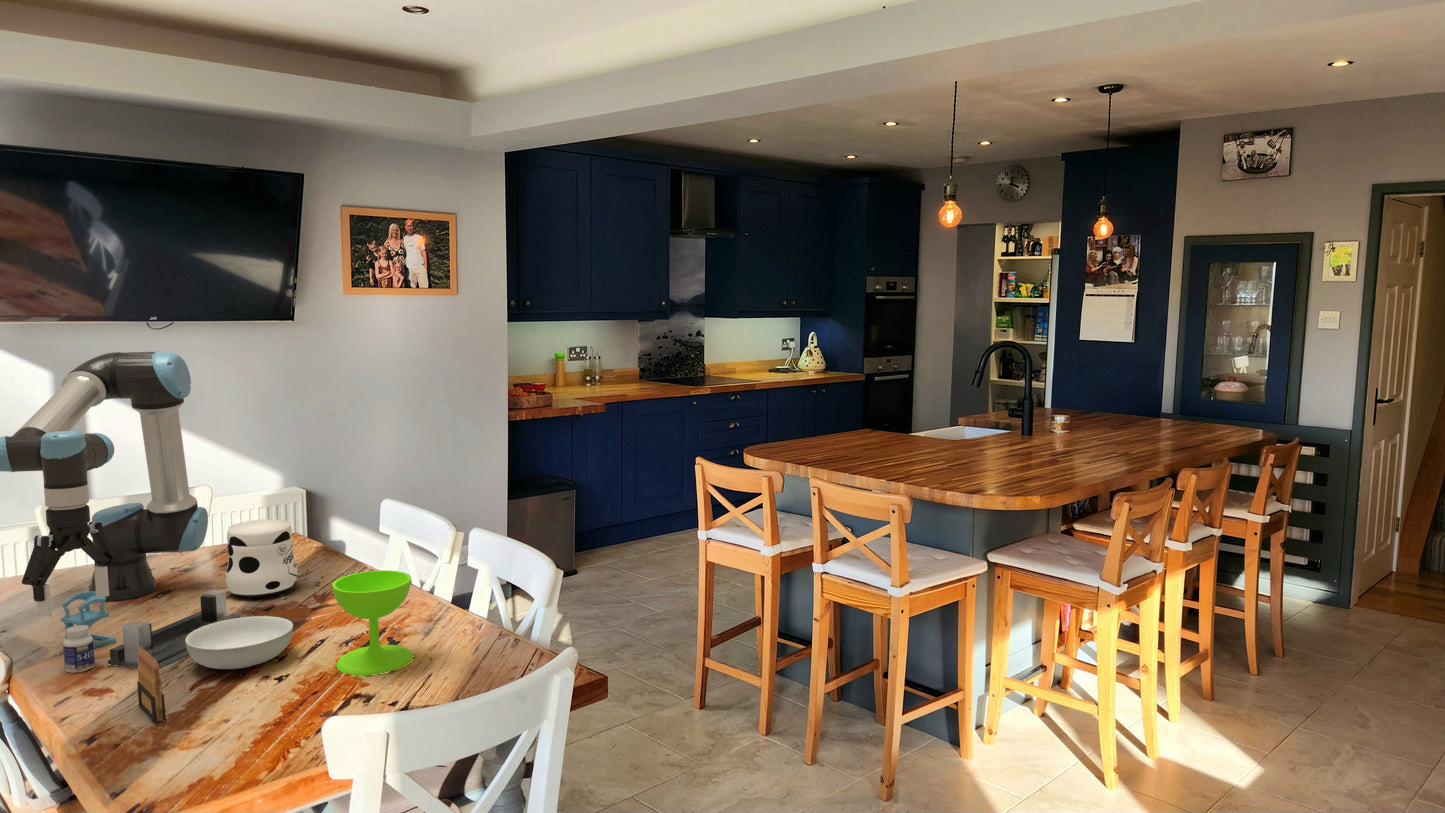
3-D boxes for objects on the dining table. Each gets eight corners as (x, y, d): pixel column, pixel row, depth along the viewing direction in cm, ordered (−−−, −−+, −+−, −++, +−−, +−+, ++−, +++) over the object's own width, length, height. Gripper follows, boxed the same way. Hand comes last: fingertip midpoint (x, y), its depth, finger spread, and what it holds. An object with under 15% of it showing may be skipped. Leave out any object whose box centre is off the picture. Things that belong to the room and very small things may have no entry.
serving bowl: (315, 650, 213) (314, 621, 212) (240, 687, 193) (238, 654, 193) (243, 639, 220) (241, 610, 219) (163, 673, 200) (161, 641, 199)
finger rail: (200, 624, 229) (198, 587, 228) (243, 628, 226) (241, 591, 225) (107, 664, 204) (104, 624, 203) (154, 670, 201) (151, 629, 200)
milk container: (312, 589, 256) (309, 523, 254) (250, 606, 242) (247, 537, 240) (274, 578, 266) (270, 515, 264) (212, 594, 251) (208, 528, 249)
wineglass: (339, 681, 196) (336, 597, 194) (332, 655, 210) (328, 576, 208) (420, 668, 203) (417, 586, 201) (407, 643, 217) (404, 566, 215)
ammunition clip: (138, 706, 184) (134, 646, 183) (149, 703, 185) (145, 644, 184) (154, 723, 177) (150, 661, 175) (166, 720, 178) (161, 659, 176)
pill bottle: (80, 674, 199) (76, 633, 198) (58, 672, 200) (55, 631, 199) (101, 664, 204) (98, 624, 203) (80, 662, 205) (77, 623, 204)
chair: (57, 650, 212) (52, 598, 211) (92, 637, 220) (88, 587, 219) (81, 654, 210) (77, 602, 208) (117, 641, 217) (112, 590, 216)
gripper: (104, 493, 211) (110, 586, 213) (-6, 518, 187) (3, 623, 189) (132, 495, 209) (138, 589, 211) (25, 520, 185) (33, 626, 187)
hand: (74, 605), depth 200 cm, fingers open, 13 cm apart
